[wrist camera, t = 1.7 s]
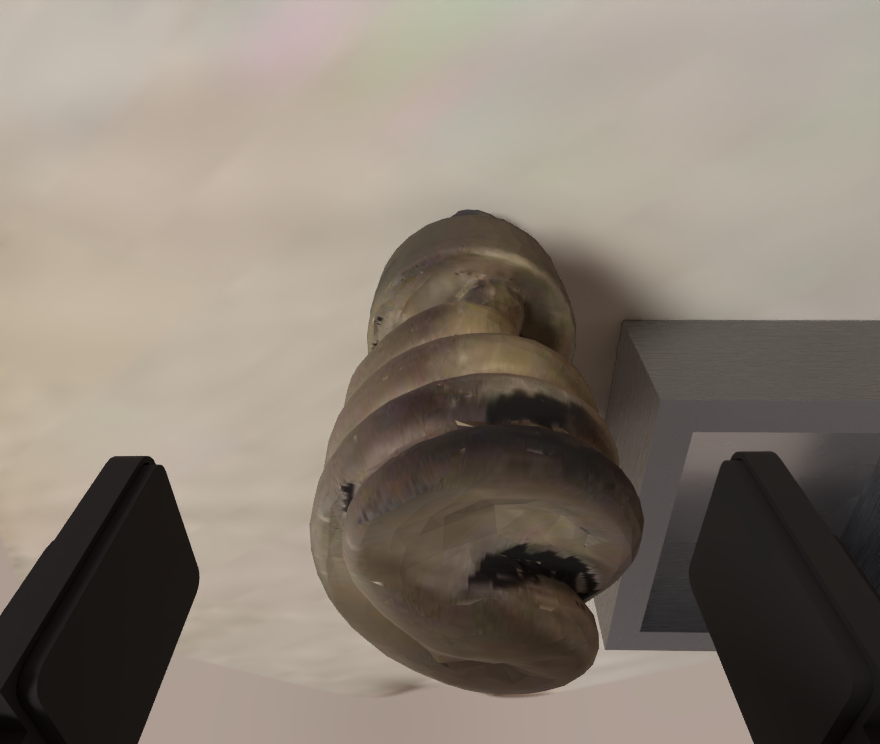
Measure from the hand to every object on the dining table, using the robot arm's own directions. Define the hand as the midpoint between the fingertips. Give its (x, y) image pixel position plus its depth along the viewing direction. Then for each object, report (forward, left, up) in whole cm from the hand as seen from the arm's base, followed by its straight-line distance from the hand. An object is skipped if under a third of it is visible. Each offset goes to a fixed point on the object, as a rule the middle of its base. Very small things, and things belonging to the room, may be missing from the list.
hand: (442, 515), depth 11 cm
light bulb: (-1, 0, -13) cm, 13 cm away
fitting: (-13, +9, -13) cm, 20 cm away
